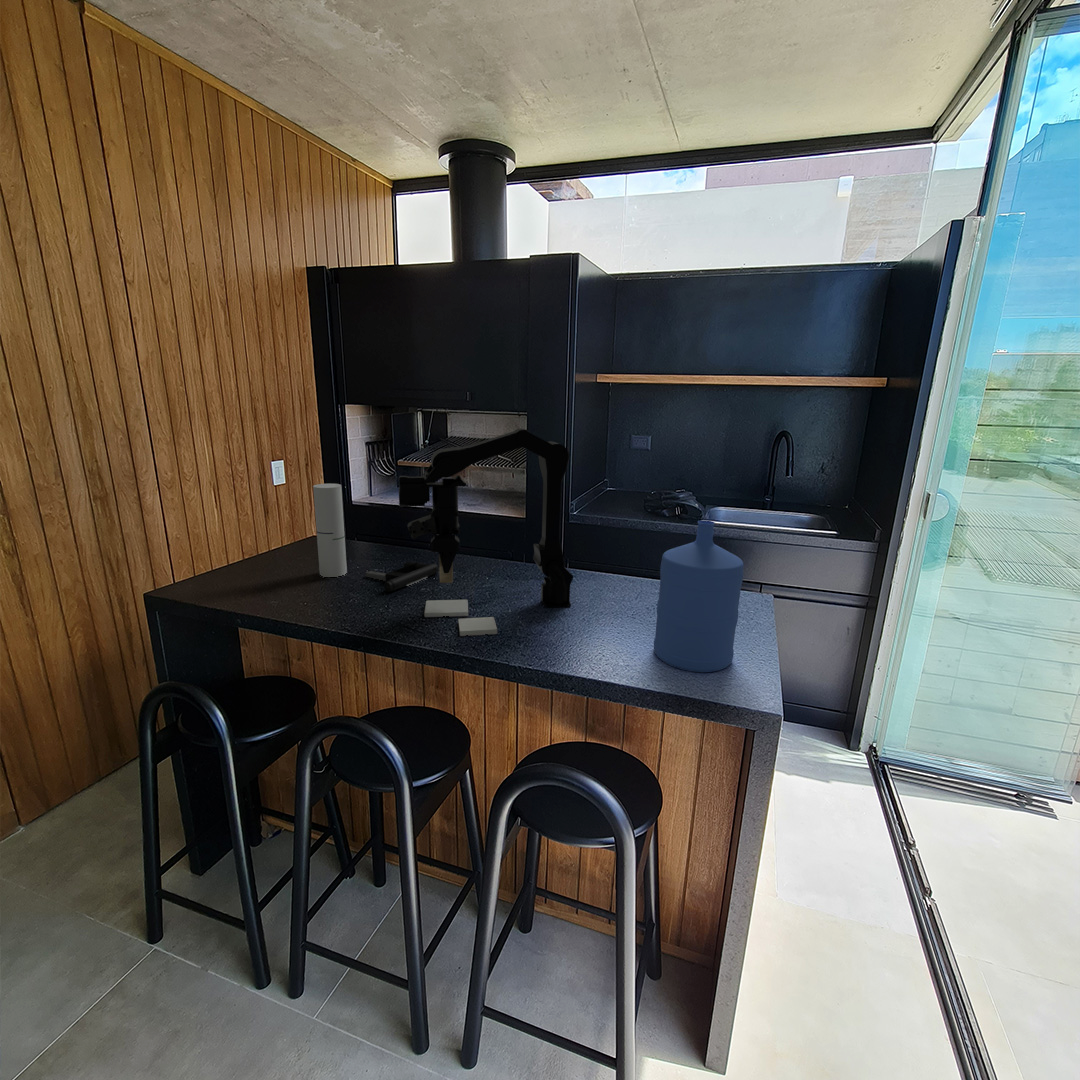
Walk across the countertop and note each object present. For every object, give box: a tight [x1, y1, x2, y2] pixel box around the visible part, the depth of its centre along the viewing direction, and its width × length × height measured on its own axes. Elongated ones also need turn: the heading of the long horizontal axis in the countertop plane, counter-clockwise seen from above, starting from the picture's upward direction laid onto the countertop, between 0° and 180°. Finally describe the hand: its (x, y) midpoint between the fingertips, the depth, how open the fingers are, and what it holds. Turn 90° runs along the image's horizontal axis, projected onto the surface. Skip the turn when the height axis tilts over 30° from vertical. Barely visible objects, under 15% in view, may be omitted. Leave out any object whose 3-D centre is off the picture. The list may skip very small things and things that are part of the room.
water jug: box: [653, 519, 745, 673], centre depth 111 cm, size 16×16×28 cm
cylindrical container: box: [312, 483, 348, 578], centre depth 155 cm, size 7×7×25 cm
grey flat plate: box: [424, 599, 469, 618], centre depth 135 cm, size 10×8×1 cm
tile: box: [457, 616, 498, 637], centre depth 125 cm, size 8×2×7 cm
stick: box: [438, 554, 454, 584], centre depth 132 cm, size 3×3×9 cm
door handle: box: [365, 561, 439, 592], centre depth 156 cm, size 3×20×16 cm
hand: (446, 570), depth 132 cm, fingers closed on stick, 3 cm apart
